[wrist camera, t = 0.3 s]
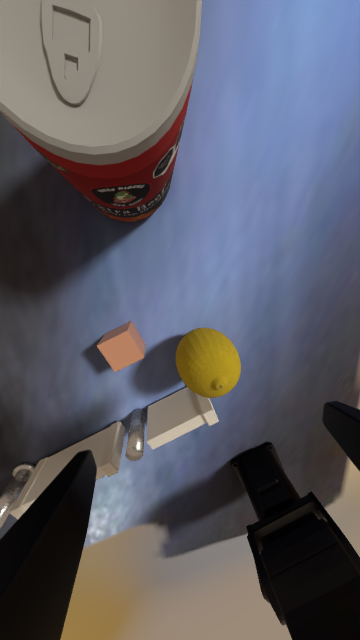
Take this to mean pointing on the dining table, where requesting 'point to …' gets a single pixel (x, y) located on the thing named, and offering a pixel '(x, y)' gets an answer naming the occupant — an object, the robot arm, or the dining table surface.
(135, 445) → the hinge post
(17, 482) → the post
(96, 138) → the canned food
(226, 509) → the dining table surface
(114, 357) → the block
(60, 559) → the robot arm
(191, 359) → the lemon
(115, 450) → the gate
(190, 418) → the fence panel
